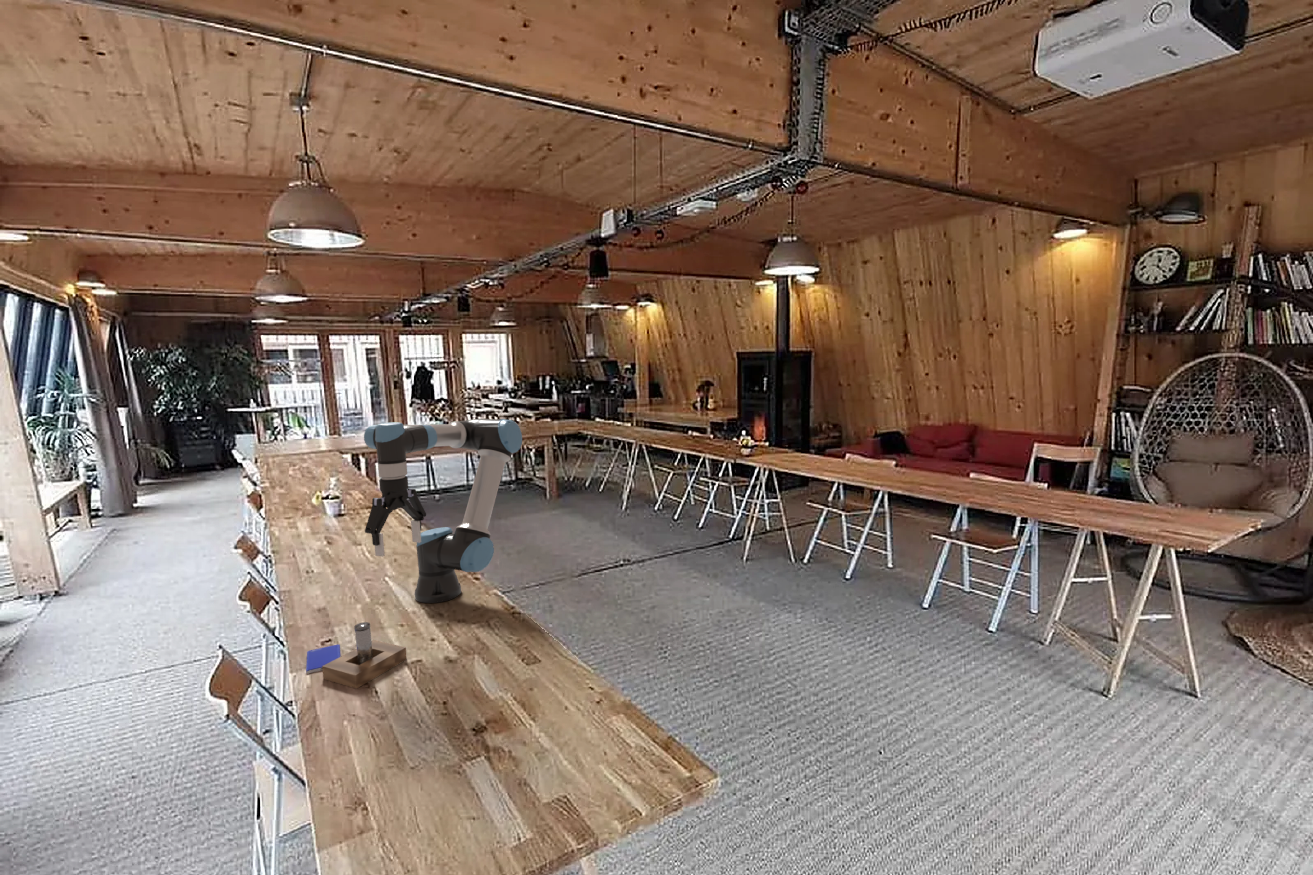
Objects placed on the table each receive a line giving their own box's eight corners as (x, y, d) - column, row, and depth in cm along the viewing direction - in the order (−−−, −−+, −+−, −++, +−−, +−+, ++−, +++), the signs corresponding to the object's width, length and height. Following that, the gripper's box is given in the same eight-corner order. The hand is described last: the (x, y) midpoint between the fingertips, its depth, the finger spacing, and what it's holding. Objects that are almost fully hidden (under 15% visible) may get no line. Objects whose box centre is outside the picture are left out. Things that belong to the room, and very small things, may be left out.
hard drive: (306, 650, 171) (305, 670, 160) (339, 643, 175) (340, 662, 164) (307, 656, 171) (306, 676, 160) (340, 649, 175) (341, 667, 164)
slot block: (374, 651, 172) (373, 639, 171) (406, 659, 167) (405, 647, 166) (323, 679, 157) (322, 666, 157) (356, 688, 152) (355, 675, 152)
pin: (367, 664, 164) (362, 621, 163) (377, 666, 163) (373, 623, 161) (355, 670, 161) (351, 627, 159) (365, 673, 159) (361, 629, 158)
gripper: (416, 468, 188) (421, 535, 191) (346, 484, 165) (353, 560, 168) (435, 469, 185) (440, 537, 188) (366, 486, 162) (373, 563, 165)
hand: (399, 548), depth 178 cm, fingers open, 13 cm apart
